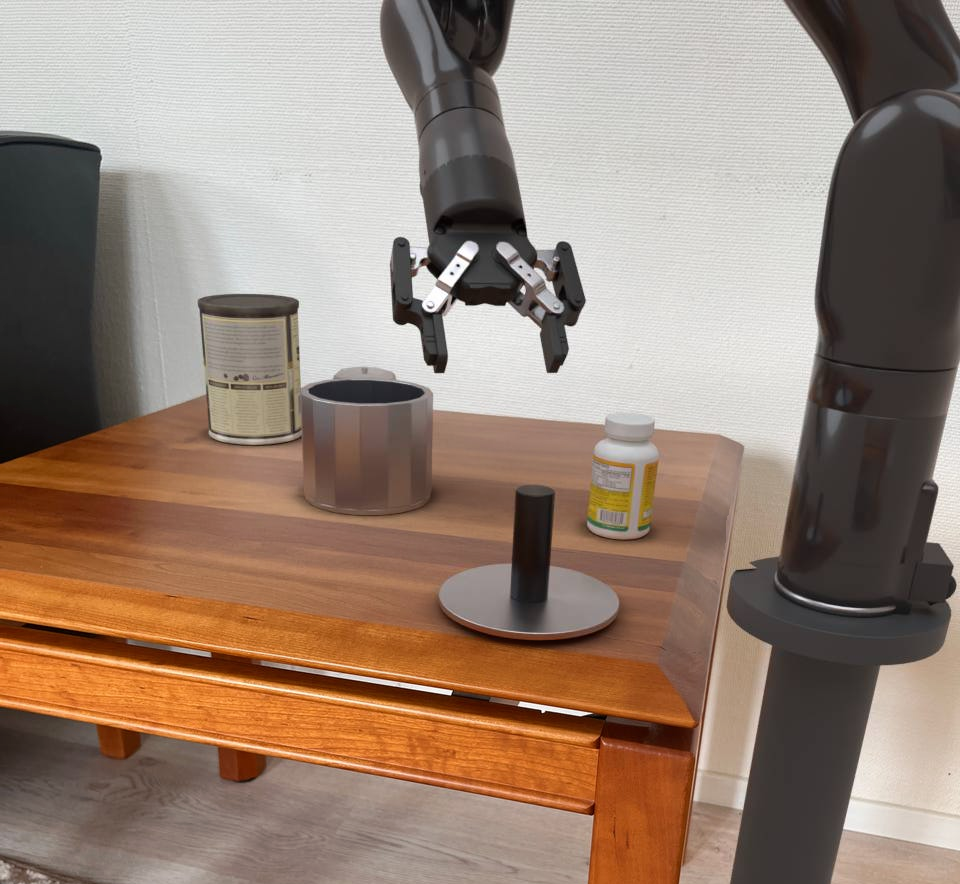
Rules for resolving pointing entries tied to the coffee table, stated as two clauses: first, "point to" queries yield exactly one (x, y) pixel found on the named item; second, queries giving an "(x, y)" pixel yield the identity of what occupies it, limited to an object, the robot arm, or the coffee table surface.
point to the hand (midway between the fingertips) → (499, 367)
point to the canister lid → (529, 584)
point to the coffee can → (251, 367)
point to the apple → (364, 373)
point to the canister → (366, 445)
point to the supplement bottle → (623, 478)
